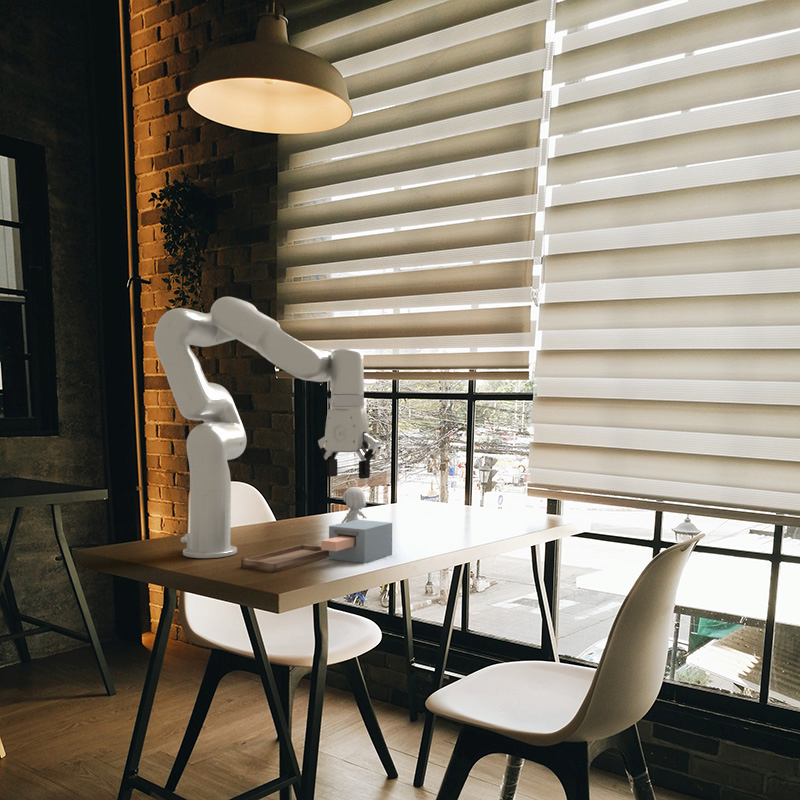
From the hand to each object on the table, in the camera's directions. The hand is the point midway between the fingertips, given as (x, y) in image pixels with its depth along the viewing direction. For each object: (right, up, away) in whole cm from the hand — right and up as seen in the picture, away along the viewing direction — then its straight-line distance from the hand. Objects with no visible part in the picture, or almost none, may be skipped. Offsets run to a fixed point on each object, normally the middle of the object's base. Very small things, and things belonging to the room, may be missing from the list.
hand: (347, 477), depth 166 cm
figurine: (0, -20, +21) cm, 29 cm away
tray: (-13, -19, 0) cm, 23 cm away
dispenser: (+3, -19, +5) cm, 20 cm away
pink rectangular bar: (0, -16, +1) cm, 16 cm away
